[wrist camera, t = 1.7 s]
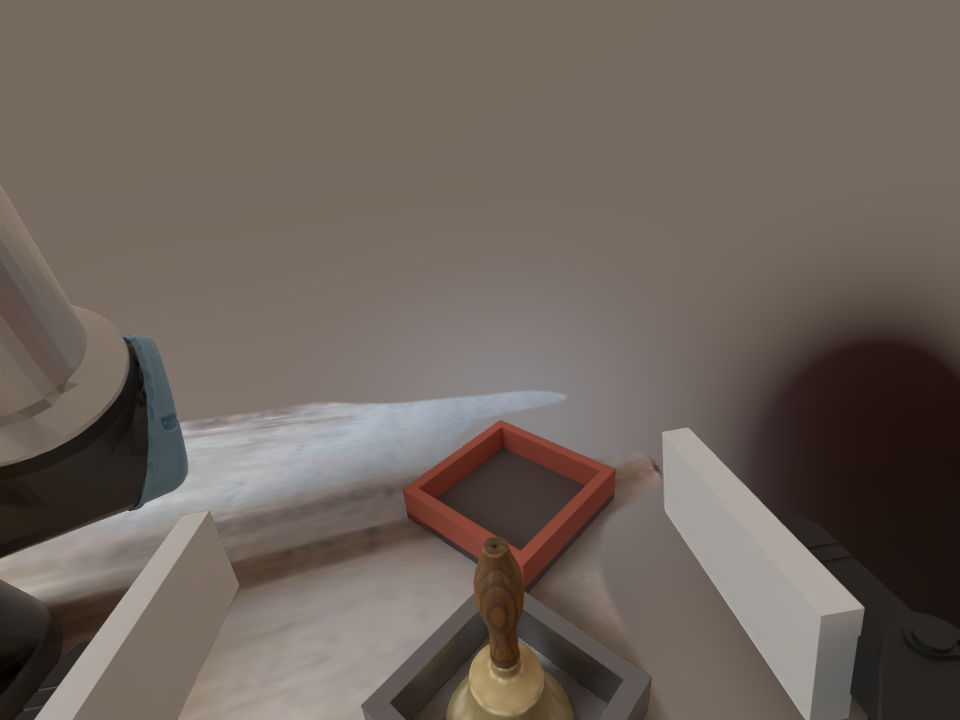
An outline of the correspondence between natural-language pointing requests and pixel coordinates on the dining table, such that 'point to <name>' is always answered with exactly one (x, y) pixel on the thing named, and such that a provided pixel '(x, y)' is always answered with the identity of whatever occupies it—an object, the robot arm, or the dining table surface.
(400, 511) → the dining table surface
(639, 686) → the grey square open box
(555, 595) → the dining table surface
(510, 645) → the hand bell
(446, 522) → the tray
